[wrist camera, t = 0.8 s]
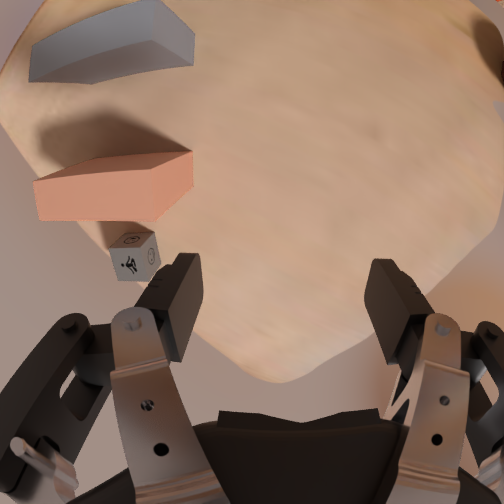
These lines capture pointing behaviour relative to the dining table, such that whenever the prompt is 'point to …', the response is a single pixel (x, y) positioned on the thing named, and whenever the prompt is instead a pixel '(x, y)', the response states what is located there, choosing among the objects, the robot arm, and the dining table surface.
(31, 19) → the dining table surface
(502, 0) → the stack of blocks
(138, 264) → the dice cube
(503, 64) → the muffin
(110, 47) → the slate slab
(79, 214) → the terracotta slab
